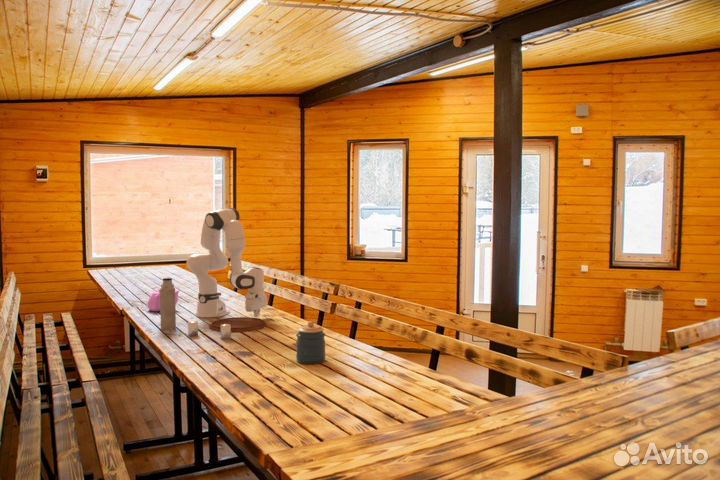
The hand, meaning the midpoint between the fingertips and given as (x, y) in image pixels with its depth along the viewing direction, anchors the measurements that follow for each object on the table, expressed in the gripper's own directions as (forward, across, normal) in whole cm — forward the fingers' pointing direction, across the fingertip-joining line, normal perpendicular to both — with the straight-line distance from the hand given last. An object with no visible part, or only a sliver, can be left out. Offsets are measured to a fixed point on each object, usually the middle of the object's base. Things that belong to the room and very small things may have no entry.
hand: (256, 316), depth 337 cm
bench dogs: (+2, +49, 0) cm, 49 cm away
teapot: (+2, -5, -72) cm, 72 cm away
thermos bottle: (+2, +39, -34) cm, 52 cm away
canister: (+2, +72, +69) cm, 100 cm away
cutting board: (+2, +21, 0) cm, 21 cm away
